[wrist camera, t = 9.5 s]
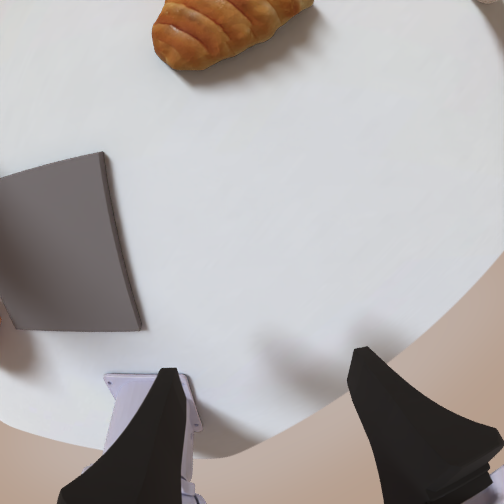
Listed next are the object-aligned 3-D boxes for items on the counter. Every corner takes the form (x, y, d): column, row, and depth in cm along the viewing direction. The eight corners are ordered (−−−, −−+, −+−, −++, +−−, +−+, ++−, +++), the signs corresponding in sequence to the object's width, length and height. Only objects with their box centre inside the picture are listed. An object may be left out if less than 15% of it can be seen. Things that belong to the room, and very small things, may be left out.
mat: (141, 324, 22) (139, 331, 21) (19, 324, 21) (16, 329, 20) (103, 151, 16) (98, 153, 16) (-27, 187, 16) (-33, 190, 15)
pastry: (210, 99, 16) (205, 94, 13) (130, 37, 14) (107, 22, 10) (317, 3, 14) (336, -19, 10) (237, -55, 11) (239, -84, 8)
